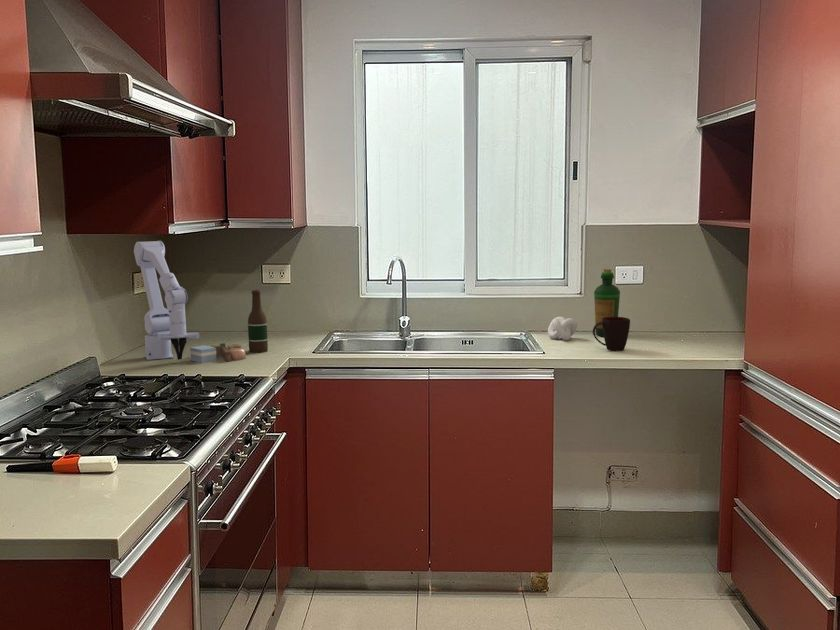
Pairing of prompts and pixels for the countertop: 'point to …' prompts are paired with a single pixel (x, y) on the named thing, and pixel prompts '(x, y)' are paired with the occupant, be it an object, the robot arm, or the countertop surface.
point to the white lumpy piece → (562, 328)
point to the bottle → (606, 300)
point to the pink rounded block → (237, 354)
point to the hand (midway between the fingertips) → (179, 359)
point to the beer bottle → (257, 326)
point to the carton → (203, 354)
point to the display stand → (223, 352)
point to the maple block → (233, 346)
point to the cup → (614, 332)
